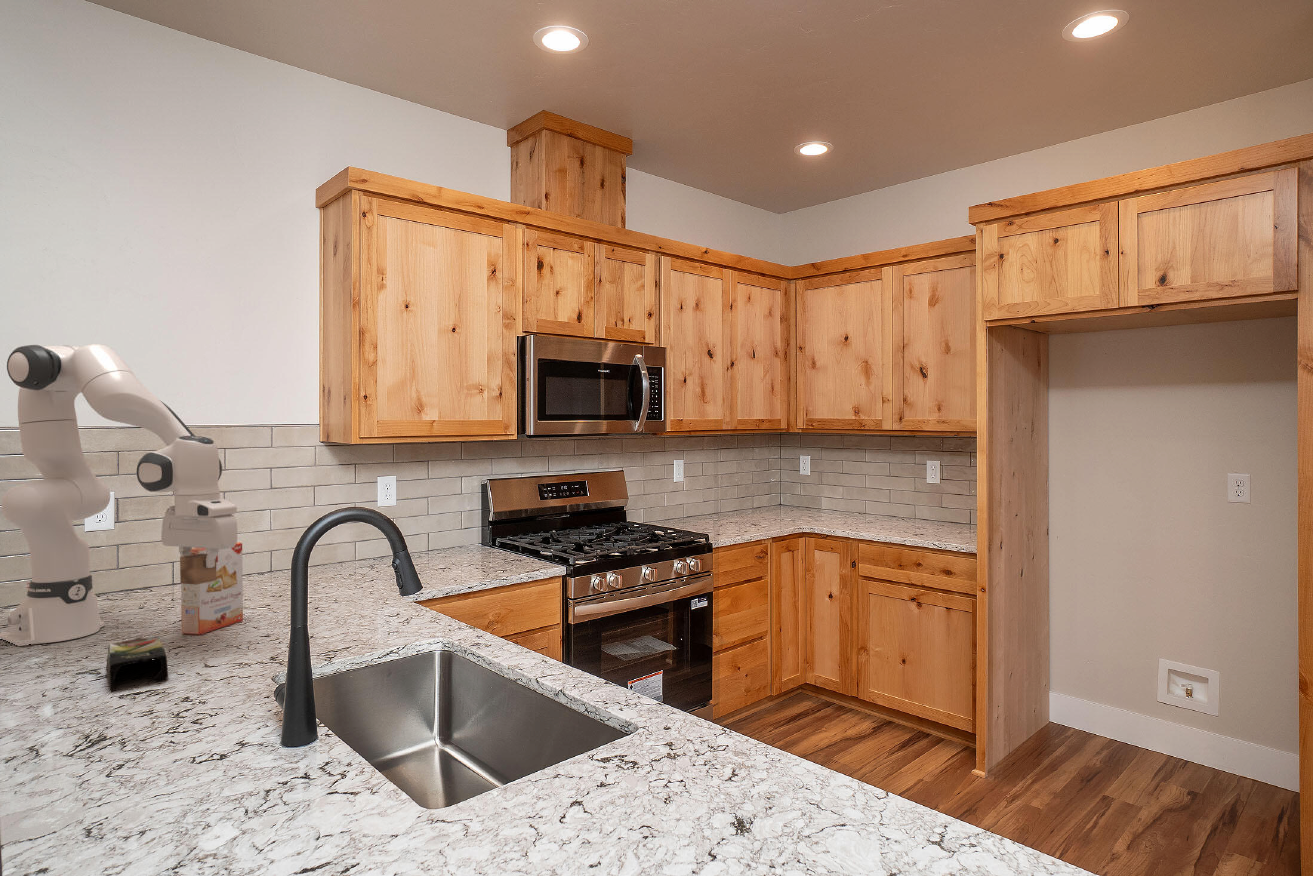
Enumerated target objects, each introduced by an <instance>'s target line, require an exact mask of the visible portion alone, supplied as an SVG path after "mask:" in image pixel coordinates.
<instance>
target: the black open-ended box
mask: <svg viewBox="0 0 1313 876" xmlns="http://www.w3.org/2000/svg"><path fill="white" fill-rule="evenodd" d="M107 647H108V648H107V650H108V651H107V656H106V657H107V659H106V665H105V670H106V676H107V683H108V687H109V692H110V691H115V690H116V689H115V690H113V687H114V683H115V679H116V675H117V673H118V671H119V670H120V669H121V667H123V666H126V665H125V664H127V665H130V664H129V663H132V664H134V663H133V662H140V663H142V662H147V661H150V662H152V661H151V660H152V659H156V660H159V662H160V661H161V662H160V666H161V665H162V666H161V667H160V671H159V672H158V673H157V674H156V675H155V676H154V680H153V681H157V682H161V681H162V680H164V681H167V679H168V678H169V670H168V659H167V657H168V656H167V653H166V650H165V648H164V643H163V641H162V639H161V636H158V635H157V636H148V637H136V638H133V639H132V638H131V639H129V640H122V641H120V642H116V643H115V642H114V643H109V644H108V646H107ZM158 658H159V659H158ZM162 682H163V681H162ZM115 692H116V691H115Z"/></svg>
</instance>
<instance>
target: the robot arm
mask: <svg viewBox="0 0 1313 876" xmlns="http://www.w3.org/2000/svg"><path fill="white" fill-rule="evenodd" d="M6 370H7V373H8V376H9V378H10V380H11V382H13V383H14V385H16V386H17V387H19V391H18V397H17V398H18V399H17V417H18V418H17V419H18V420H17V421H18V426H19V427H18V428H19V434H20V442H21V448H22V454H23V456H24V458H25V459H26V460H27V461H28V462H29V463H32V464H33V465H35V467H36V468H37V469H38V470H39V472H40V473H41V476H42V478H43V479H36V480H30V481H26V482H24V483H21V484H18V485H15V486H13V487H11V488H9V489H8V490H7V491H6V492H5V493H4V495H3V497H2V499H1V511H2V513H3V515H4V517H5V518H6V519H7V521H9V522H10V523H12V524H13V525H16V527H17V528H19V530H20V531H21V533H22V534H23V537H24V538H25V540H26V543H27V545H28V549H29V553H30V567H31V581H30V582H28V583H26V588H27V594H26V597H27V598H25V599H24V600H23V601H22V602H21V603H20V604H19V605H18V606H17V607H16V608H15V609H13V610H12V611H11V613H10V615H9V616H8V617H7V625H8V626H9V630H4V631H2V632H0V638H1V639H3V640H6V641H8V642H10V643H9V644H11V643H13V644H12V645H14V644H15V645H14V646H16V645H17V647H23V646H30V645H29V644H31V645H37V644H38V645H39V644H47V643H56V642H63V641H70V640H74V639H79V638H83V637H86V636H90V635H93V634H95V633H97V632H99V631H100V630H101V628H103V627H104V626H106V624H105V621H102V620H101V617H100V610H99V601H98V596H97V595H96V594H94V593H93V592H92V590H93V589H94V587H93V584H94V582H93V581H94V580H93V575H91V574H90V573H91V571H90V570H91V569H90V568H91V567H90V546H89V544H88V542H86V541H85V540H83V539H82V538H80V537H79V536H78V534H77V532H76V530H75V528H74V525H73V524H74V523H73V521H78V520H79V521H80V520H83V519H88V518H90V517H93V516H95V515H97V514H99V513H101V512H103V511H104V510H105V509H107V507H108V506H109V504H110V501H111V490H110V489H109V487H108V485H107V484H106V483H105V482H104V481H102V480H101V479H99V477H97V476H96V475H95V473H94V472H93V470H92V469H91V467H90V465H89V463H88V461H87V460H86V459H87V458H86V457H85V455H84V453H83V452H84V451H83V449H82V448H83V447H82V444H81V443H82V442H81V438H80V431H79V430H80V429H79V426H78V418H77V417H78V416H77V411H76V408H75V400H76V398H77V397H78V395H80V394H82V396H83V397H84V398H85V400H86V402H87V403H88V405H89V406H90V408H91V409H92V410H94V411H95V413H96V414H98V415H99V416H101V417H102V418H104V419H106V420H109V421H111V422H116V423H121V424H126V425H132V426H135V427H139V428H141V429H144V430H147V431H150V432H152V433H154V434H155V435H156V436H158V437H159V438H160V439H161V440H162V442H164V444H165V445H166V446H165V447H163V448H161V449H158V450H155V451H152V452H148V453H146V454H144V455H143V456H142V457H141V458H140V459H139V461H138V463H137V465H136V466H137V467H136V479H137V481H138V482H139V484H140V486H141V487H142V488H143V489H144V490H146V491H148V492H151V493H152V492H153V493H167V492H173V493H174V505H170V506H169V507H168V508H167V509H166V510H165V512H164V516H163V519H162V524H161V533H160V534H161V539H160V540H161V541H160V542H161V543H162V545H163V546H166V547H177V548H178V553H179V554H180V557H181V556H182V557H183V556H189V555H191V552H190V550H192V548H206V553H208V554H207V557H206V560H203V567H204V568H212V567H214V566H215V559H216V556H217V554H218V552H219V549H228V548H233V547H234V546H235V545H236V543H237V542H238V522H237V519H236V517H235V514H236V513H237V511H238V509H237V505H236V504H235V503H233V502H230V501H228V500H227V499H225V498H223V497H221V491H220V490H221V489H220V487H219V481H220V479H221V476H222V474H223V464H222V461H221V459H220V456H219V450H218V447H217V444H216V442H215V441H214V440H213V439H212V438H209V437H206V436H201V435H199V436H196V435H195V434H194V432H192V430H191V429H189V427H188V426H187V425H186V424H185V423H184V421H183V420H182V419H181V418H180V417H179V416H178V414H176V412H174V411H173V410H172V409H171V407H169V406H168V405H167V404H166V403H164V402H163V401H162V400H160V399H159V398H158V397H156V396H154V394H152V393H151V392H150V391H149V390H148V389H147V388H146V387H145V386H144V385H143V384H142V382H141V381H140V380H139V379H138V377H136V375H135V374H134V372H133V371H132V370H131V368H130V367H129V366H128V365H127V364H126V362H125V361H124V360H123V359H122V357H120V356H119V355H118V354H117V353H116V352H115V351H114V350H113V349H112V348H110V347H108V346H107V345H104V344H97V343H91V344H87V345H83V346H76V345H66V344H65V345H38V344H29V345H22V346H19V347H17V348H15V349H13V351H11V353H10V354H9V356H8V358H7V362H6ZM27 585H29V586H27ZM3 640H2V641H3ZM6 641H5V642H6ZM8 642H7V643H8Z"/></svg>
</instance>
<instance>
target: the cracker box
mask: <svg viewBox="0 0 1313 876" xmlns="http://www.w3.org/2000/svg"><path fill="white" fill-rule="evenodd" d="M190 552H191V555H194V554H200V553H203V554H208V553H206V548H193V547H192V550H190ZM180 557H182V556H181V555H180ZM216 574H217V580H216V581H211V582H206V583H202V584H197V585H194V584H182V583H180V592H181V593H180V600H181V601H180V604H181V606H180V607H181V610H180V612H181V613H180V615H181V623H180V624H181V634H183V635H184V634H185V635H186V634H187V635H200V636H201V635H203V634H206V633H209V632H212V631H215V630H218V629H221V628H224V627H228V626H230V625H233V624H236V623H239V622H243V619H244V616H243V615H244V612H243V611H244V610H243V608H244V607H243V603H244V601H243V598H244V596H243V595H244V593H243V585H244V583H243V542H238V541H237V543H236V545H235V546H234V547H233V548H228V549H219V552H218V554H217V556H216Z"/></svg>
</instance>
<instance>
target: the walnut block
mask: <svg viewBox="0 0 1313 876" xmlns="http://www.w3.org/2000/svg"><path fill="white" fill-rule="evenodd" d="M206 557H207V554H203V553H200V554H194V555H189V556H183V557H181V556H180V557H179V571H180V573H179V574H180V575H179V578H180V584H181V583H182V584H194V585H197V584H202V583H206V582H211V581H216V580H217V574H216V559H215V566H214V567H212V568H204V567H203V560H206Z"/></svg>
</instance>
